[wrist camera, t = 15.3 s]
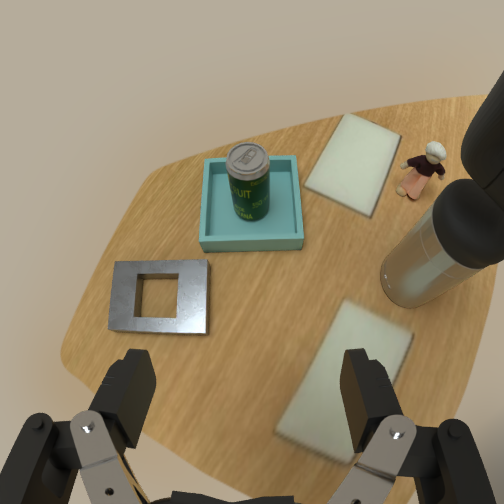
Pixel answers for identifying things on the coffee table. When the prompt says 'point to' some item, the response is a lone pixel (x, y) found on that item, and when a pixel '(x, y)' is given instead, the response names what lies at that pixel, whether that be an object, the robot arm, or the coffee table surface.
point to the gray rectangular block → (188, 301)
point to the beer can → (249, 180)
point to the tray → (259, 231)
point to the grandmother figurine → (422, 170)
